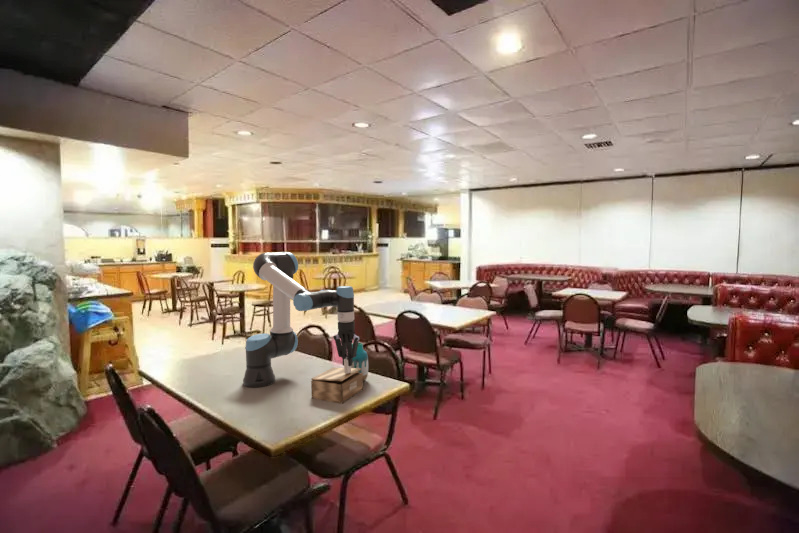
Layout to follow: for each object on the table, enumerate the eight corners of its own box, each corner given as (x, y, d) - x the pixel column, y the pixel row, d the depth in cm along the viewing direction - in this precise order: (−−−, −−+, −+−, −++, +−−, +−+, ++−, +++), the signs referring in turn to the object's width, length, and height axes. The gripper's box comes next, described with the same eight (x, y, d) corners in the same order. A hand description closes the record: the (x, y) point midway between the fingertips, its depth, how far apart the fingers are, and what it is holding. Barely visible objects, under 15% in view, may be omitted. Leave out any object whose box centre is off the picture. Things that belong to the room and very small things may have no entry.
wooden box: (311, 398, 180) (311, 380, 179) (334, 385, 196) (333, 368, 195) (342, 403, 173) (342, 385, 172) (363, 389, 189) (363, 373, 189)
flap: (311, 379, 180) (311, 378, 180) (332, 368, 195) (332, 367, 195) (341, 381, 173) (341, 379, 173) (361, 369, 188) (361, 368, 188)
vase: (365, 385, 195) (364, 346, 193) (344, 384, 197) (343, 345, 196) (371, 378, 205) (370, 341, 204) (351, 377, 207) (350, 340, 206)
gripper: (328, 321, 180) (330, 373, 181) (354, 323, 174) (356, 376, 175) (338, 318, 187) (339, 368, 188) (363, 320, 181) (364, 371, 182)
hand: (347, 372), depth 182 cm, fingers closed
